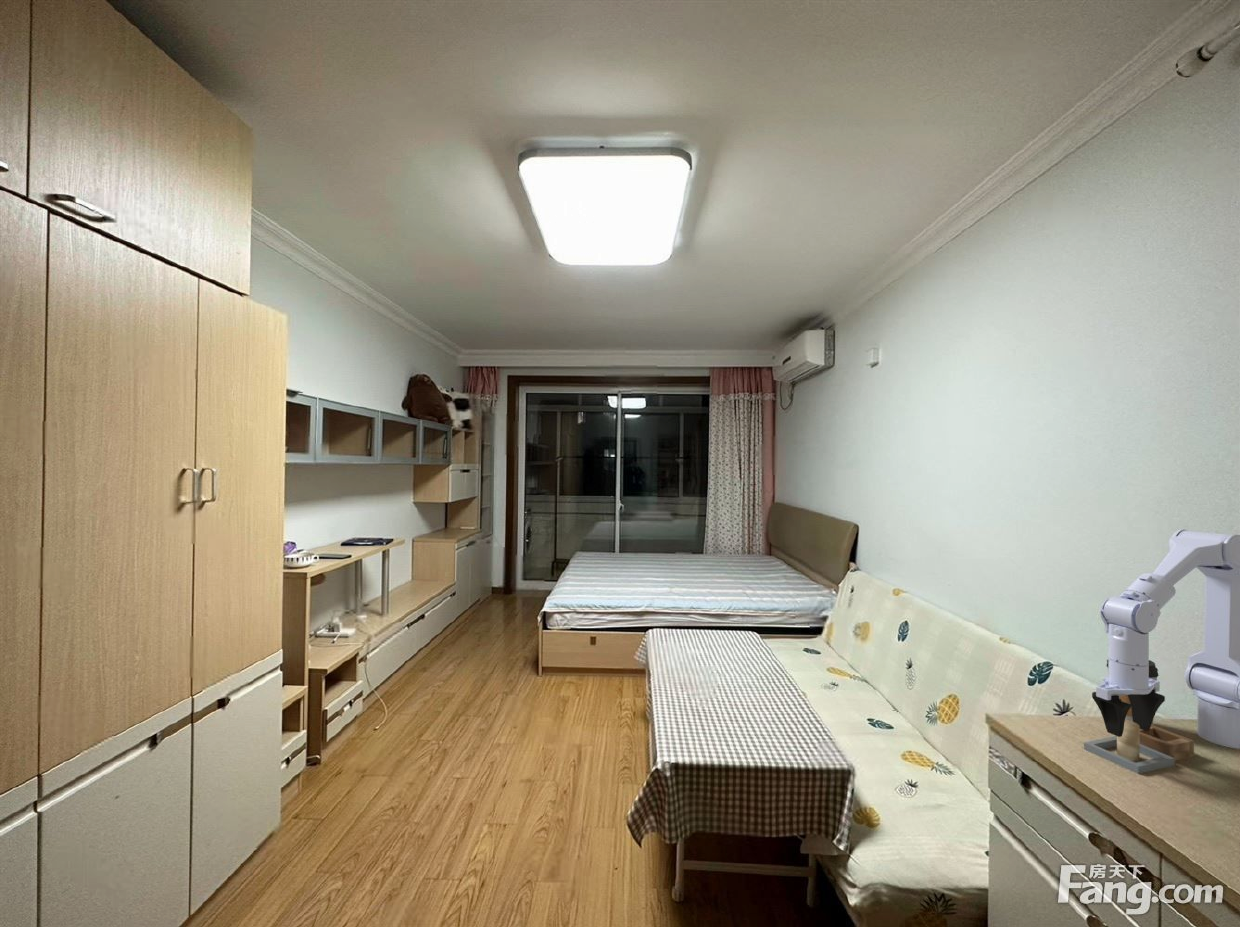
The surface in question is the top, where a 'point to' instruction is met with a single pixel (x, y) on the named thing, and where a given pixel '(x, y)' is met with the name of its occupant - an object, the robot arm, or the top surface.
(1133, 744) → the dowel
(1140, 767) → the tray
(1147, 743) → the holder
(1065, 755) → the top surface
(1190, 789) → the top surface
